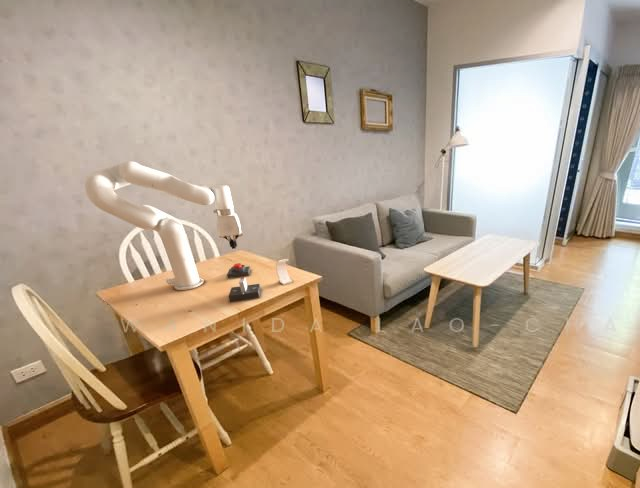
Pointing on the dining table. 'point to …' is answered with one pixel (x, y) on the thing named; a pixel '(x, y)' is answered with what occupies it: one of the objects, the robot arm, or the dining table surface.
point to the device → (244, 293)
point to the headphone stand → (282, 272)
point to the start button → (237, 266)
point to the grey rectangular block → (243, 284)
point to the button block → (238, 272)
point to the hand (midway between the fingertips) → (234, 247)
